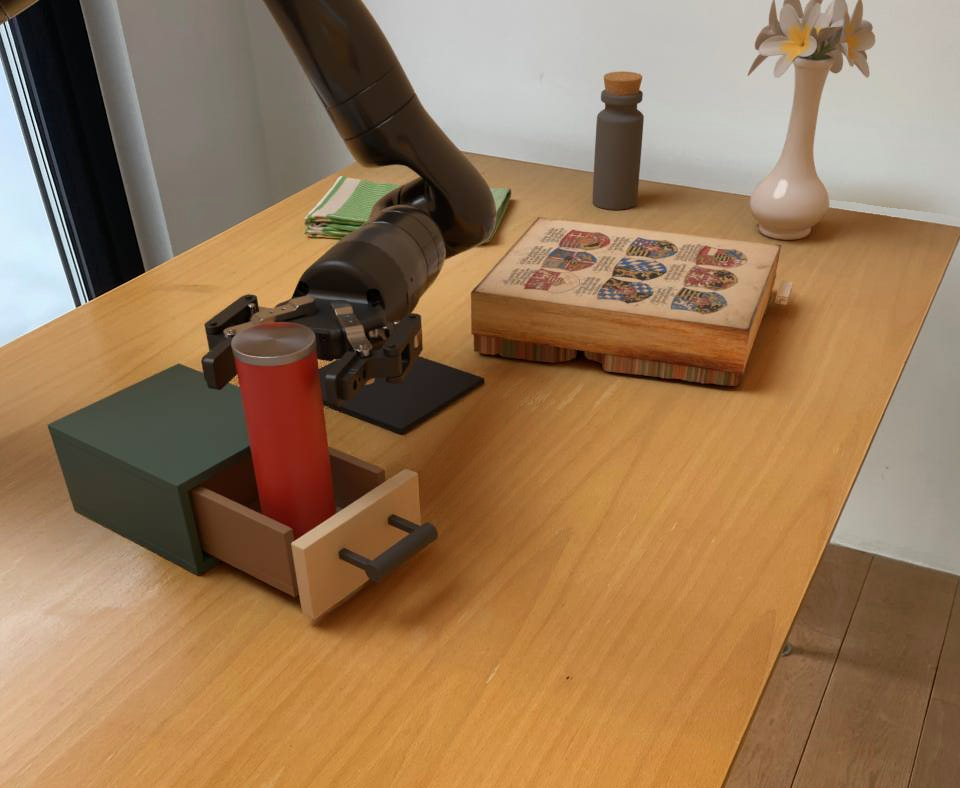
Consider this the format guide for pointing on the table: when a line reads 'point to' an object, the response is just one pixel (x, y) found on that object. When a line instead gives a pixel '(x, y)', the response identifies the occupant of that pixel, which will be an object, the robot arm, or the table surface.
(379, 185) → the dish towel
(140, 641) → the table surface
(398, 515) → the drawer
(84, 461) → the cabinet
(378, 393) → the mat
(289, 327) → the tin
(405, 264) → the robot arm
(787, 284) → the wooden box
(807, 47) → the flower vase
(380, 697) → the table surface
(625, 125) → the bottle
